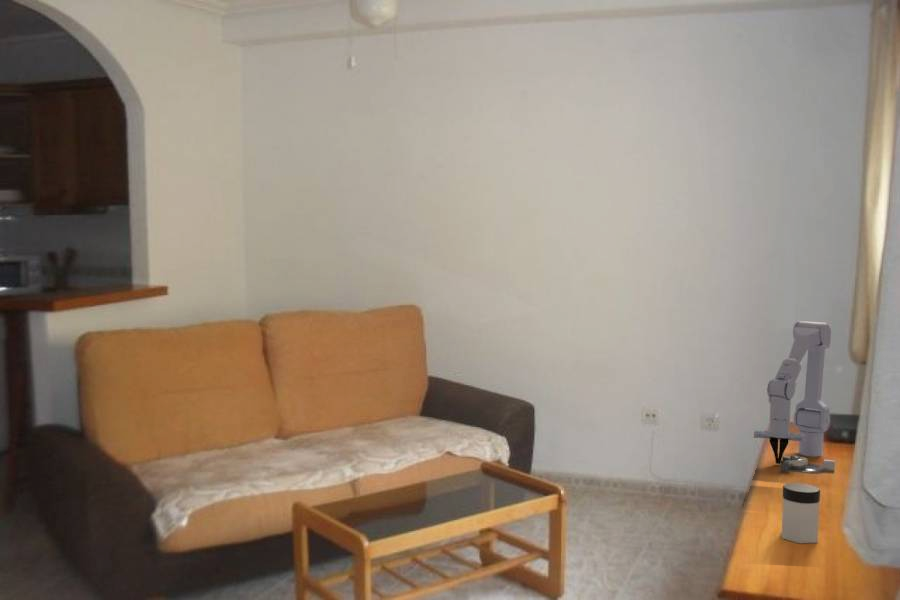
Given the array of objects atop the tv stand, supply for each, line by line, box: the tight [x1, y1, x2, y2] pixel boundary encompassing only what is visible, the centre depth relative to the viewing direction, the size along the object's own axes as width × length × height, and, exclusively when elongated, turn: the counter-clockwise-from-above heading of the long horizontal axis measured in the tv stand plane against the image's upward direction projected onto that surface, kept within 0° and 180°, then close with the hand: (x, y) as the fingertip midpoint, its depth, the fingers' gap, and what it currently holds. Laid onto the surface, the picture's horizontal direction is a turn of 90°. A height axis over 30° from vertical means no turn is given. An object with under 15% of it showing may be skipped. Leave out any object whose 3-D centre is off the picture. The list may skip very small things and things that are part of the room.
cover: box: [782, 454, 809, 470], centre depth 275 cm, size 7×7×3 cm
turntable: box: [788, 459, 836, 475], centre depth 274 cm, size 13×14×4 cm
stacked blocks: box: [779, 460, 789, 475], centre depth 269 cm, size 3×2×4 cm
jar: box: [781, 482, 821, 544], centre depth 214 cm, size 9×8×12 cm
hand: (778, 463), depth 276 cm, fingers closed
